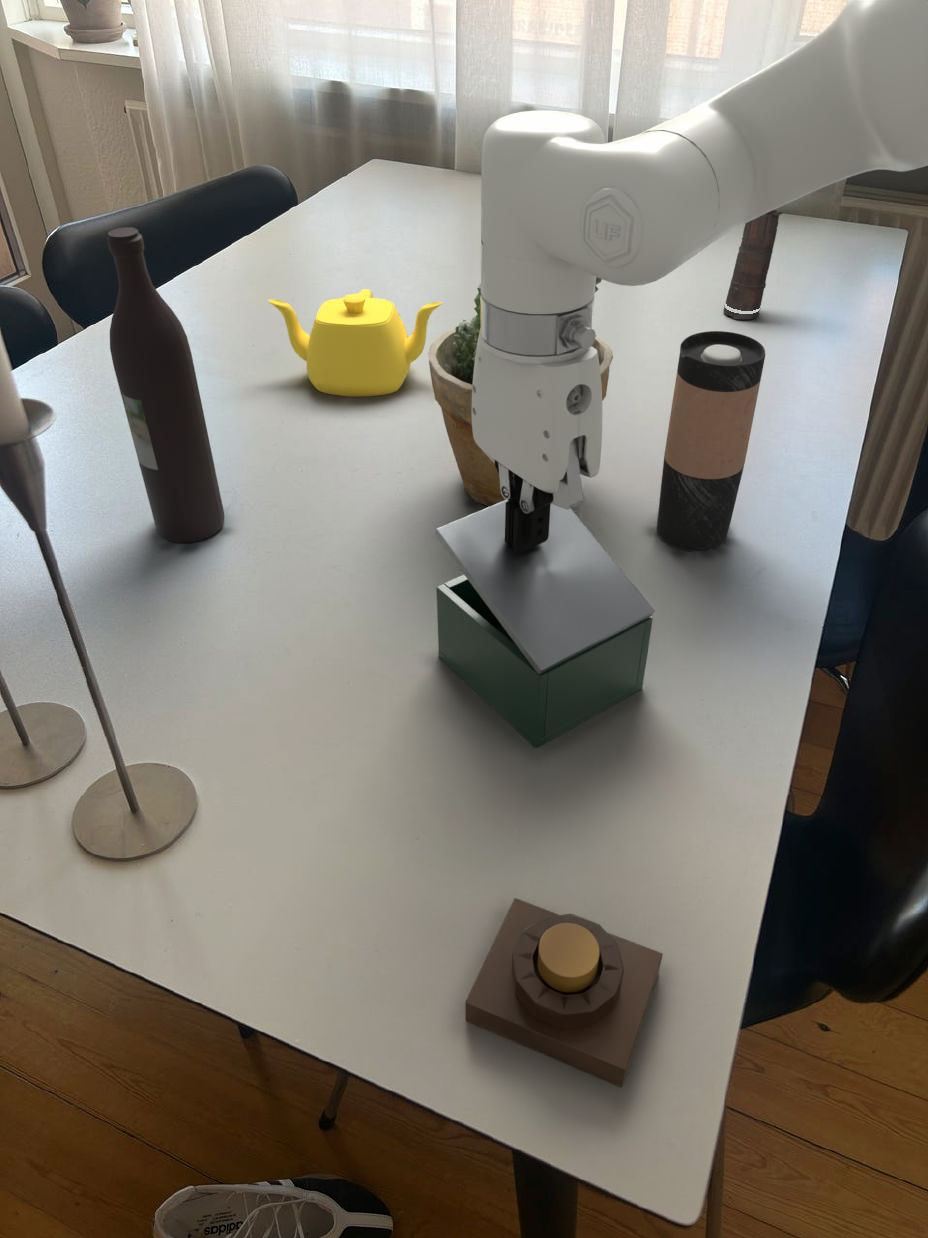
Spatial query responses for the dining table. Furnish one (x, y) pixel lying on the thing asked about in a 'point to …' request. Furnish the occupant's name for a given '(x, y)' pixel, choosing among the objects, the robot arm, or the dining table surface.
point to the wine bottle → (162, 400)
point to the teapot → (357, 344)
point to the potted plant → (454, 396)
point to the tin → (514, 684)
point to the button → (568, 957)
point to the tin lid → (546, 584)
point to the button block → (565, 995)
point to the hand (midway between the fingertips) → (526, 542)
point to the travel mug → (708, 437)
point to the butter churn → (752, 265)
